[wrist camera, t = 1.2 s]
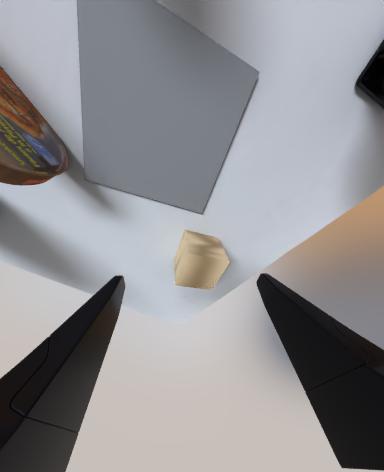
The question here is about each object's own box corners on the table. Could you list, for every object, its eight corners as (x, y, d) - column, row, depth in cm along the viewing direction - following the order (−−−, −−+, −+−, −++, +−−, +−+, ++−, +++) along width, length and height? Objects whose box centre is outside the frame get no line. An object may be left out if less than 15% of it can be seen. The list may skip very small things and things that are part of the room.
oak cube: (217, 237, 23) (230, 262, 18) (204, 262, 26) (212, 289, 21) (184, 229, 22) (188, 253, 17) (174, 257, 24) (174, 285, 19)
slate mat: (257, 73, 13) (259, 72, 13) (201, 212, 20) (201, 213, 20) (77, -47, 9) (74, -54, 9) (86, 178, 16) (84, 179, 16)
